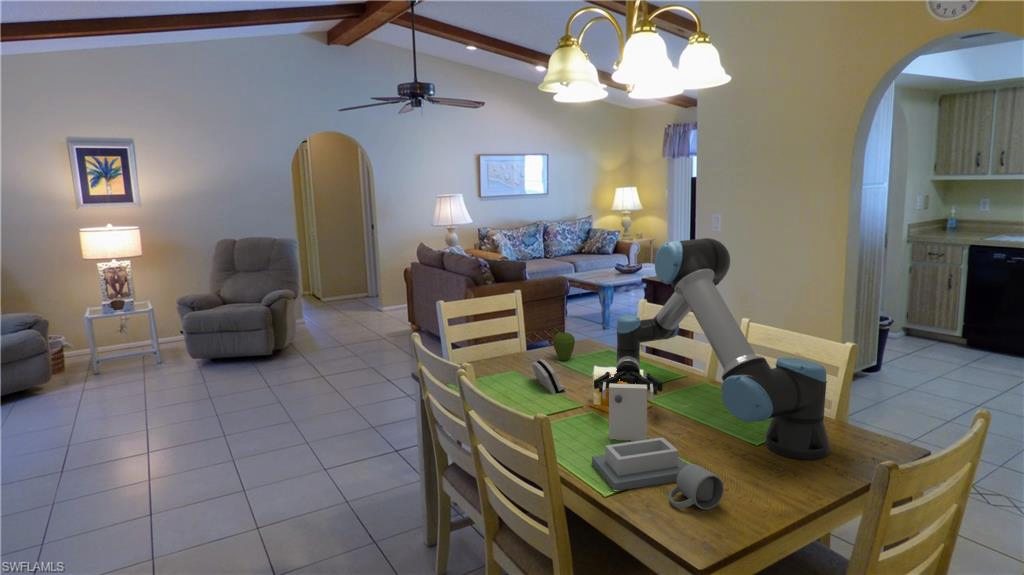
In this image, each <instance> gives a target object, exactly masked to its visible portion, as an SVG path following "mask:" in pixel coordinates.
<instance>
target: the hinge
mask: <svg viewBox="0 0 1024 575" xmlns="http://www.w3.org/2000/svg"><path fill="white" fill-rule="evenodd" d="M531 366H532V370H533V372H534V374H535V378H536V380H537V379H538V380H539V381H538V382H539V383H540V384H541V385H543V387H544V388H545V389H546V390H548V391H549V392H550V394H552V393H555V394H557V393H556V392H560V391H563V392H564V393H567V390H566V388H565V386H564V385H563V384H562V383H561V382H560V381H559V379H558V376H557V375H556V372H555V371H554V369H553V368H552V367H551V365H550V363H548V362H547V361H546V360H545V359H542V358H540V359H537V361H534V362H532V363H531Z"/></svg>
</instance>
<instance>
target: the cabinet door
mask: <svg viewBox="0 0 1024 575" xmlns="http://www.w3.org/2000/svg"><path fill="white" fill-rule="evenodd" d="M608 404H609V405H608V440H609V439H616V440H615V441H628V440H631V441H630V442H634V441H641V440H648V437H647V436H648V434H647V432H648V431H647V430H648V429H647V428H648V390H647V385H640V384H611V383H609V388H608Z"/></svg>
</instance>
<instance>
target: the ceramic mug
mask: <svg viewBox="0 0 1024 575" xmlns="http://www.w3.org/2000/svg"><path fill="white" fill-rule="evenodd" d="M675 484H676V486H675V487H674V488H673V489H671V490H670V492H669V493H668V498H669V499H668V500H669V501H670V503H671V505H672V506H673V508H677V509H687V508H689V507H691V506H693V505H695V506H696V507H698V508H699V509H701V510H710V509H713V508H715V507H716V506H717V505H719V504H720V502H721V501H722V498H723V497H724V492H725V486H724V483H723V480H722V478H721V477H720V476H718V475H717V474H715V473H713V472H711V471H710V470H708V469H705V468H704V467H702V466H700V465H698V464H694V463H688V464H686V465H685V466H683V467H682V468H681V469H680V470H679V472H678V474H677V477H676V482H675ZM678 493H681V494H682V495H683V496H685V497H686V498H687V499H685V500H683V501H680V502H679V501H678V502H677V501H675V499H674V497H675V496H676V495H678Z"/></svg>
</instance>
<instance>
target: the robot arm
mask: <svg viewBox="0 0 1024 575" xmlns="http://www.w3.org/2000/svg"><path fill="white" fill-rule="evenodd" d="M655 254H656V255H655V259H654V270H655V271H654V272H655V275H656V278H657V279H658V281H659V282H661V283H663V284H665V285H671V286H672V289H673V291H674V292H673V293H672V295H671V296H670V297H669V298H668V300H667V301H666V303H665V304H664V305H663V306H662V307H661V309H659V312H657V314H656V315H655V316H654V317H653V318H647V319H641V318H640V317H639V316H637V315H633V314H624V315H621V316H619V317H618V318H617V322H616V338H617V339H616V342H617V345H616V367H615V368H616V369H617V370H616V369H615V373H614V374H613V375H614V377H611V375H612V374H611V372H610V371H606V372H605V373H604V374H603V375H601V376H599V377H598V378H596V379H594V380H593V390H597V389H598V392H599V393H602V394H601V395H602V399H606V395H607V389H609V383H611V384H617V382H618V381H619V379H620V381H623V382H627V383H629V384H635V383H636V384H640V385H647V391H649V396H650V401H651V402H652V401H654V395H657V394H658V392H664V391H663V390H664V389H663V386H664V384H663V382H662V381H660V380H658V379H657V378H655V377H654V376H652V375H651V373H646V374H645V375H642V374H641V368H640V363H641V362H640V360H641V359H640V354H641V353H640V352H641V344H643V343H649V342H655V341H662V340H669V339H672V338H675V337H676V336H678V334H679V330H680V325H679V324H680V323H682V321H683V320H684V319H685V317H686V316H688V314H690V312H692V313H693V315H694V317H695V319H696V321H697V323H698V324H699V326H700V328H701V330H702V331H703V333H704V334H703V335H705V336H704V337H706V340H707V341H708V343H709V345H710V346H711V348H712V350H713V351H714V354H715V355H716V358H717V360H718V362H719V363H720V365H721V367H722V368H723V372H722V376H721V379H722V381H723V382H722V384H721V388H720V392H721V393H722V394H721V399H722V402H723V404H724V406H725V408H726V410H727V411H728V412H729V413H730V414H731V415H732V416H734V417H735V418H736V419H737V420H740V421H742V422H745V423H754V422H764V421H766V420H769V419H770V423H769V426H768V428H767V430H766V432H765V439H764V443H765V446H766V448H768V449H769V450H770V451H771V452H773V453H776V454H778V455H781V456H783V457H787V458H791V459H796V460H803V461H804V460H805V461H807V460H809V461H811V460H812V461H813V460H820V459H824V458H825V457H827V456H828V455H829V454H830V449H831V447H830V446H831V443H830V439H829V436H828V432H827V429H826V426H825V422H824V419H825V418H824V417H825V407H826V406H825V405H826V403H825V402H826V393H827V392H826V391H827V383H828V381H827V370H826V368H825V367H824V366H823V365H822V364H820V363H817V362H815V361H810V360H808V359H804V358H803V359H802V358H796V357H779V358H777V359H776V362H775V367H774V368H771V366H770V364H769V363H768V361H767V359H766V358H765V357H764V356H761V355H757V354H756V353H755V351H754V350H753V348H752V346H751V344H750V343H749V340H748V339H747V338H746V336H745V334H744V333H743V331H742V329H741V327H740V326H739V324H738V322H737V320H736V319H735V317H734V316H733V314H732V312H731V310H730V308H729V307H728V305H727V304H726V301H725V300H724V298H723V296H722V295H721V294H720V291H719V290H718V288H717V287H716V286H718V285H719V284H720V283H721V281H723V279H724V278H725V277H726V276H727V274H728V271H729V270H730V266H731V255H730V253H729V250H728V249H727V247H726V246H725V245H724V243H722V242H721V241H719V240H717V239H714V238H710V237H708V238H707V237H706V238H698V239H686V240H685V239H684V240H678V239H676V240H672V241H667V242H664V243H663V244H662V245H660V246H659V248H658V250H657V252H656V253H655ZM616 372H617V373H616ZM609 377H611V378H609Z"/></svg>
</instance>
